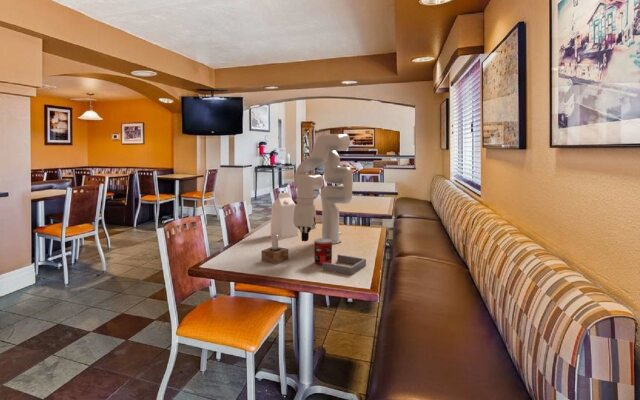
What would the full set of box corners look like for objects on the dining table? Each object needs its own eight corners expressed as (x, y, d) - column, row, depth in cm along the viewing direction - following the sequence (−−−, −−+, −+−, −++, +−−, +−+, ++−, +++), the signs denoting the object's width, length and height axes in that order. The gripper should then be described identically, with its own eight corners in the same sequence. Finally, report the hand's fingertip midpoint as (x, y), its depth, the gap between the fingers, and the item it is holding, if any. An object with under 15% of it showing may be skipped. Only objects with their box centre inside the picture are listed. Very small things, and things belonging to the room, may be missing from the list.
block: (273, 256, 180) (273, 246, 179) (288, 259, 176) (288, 248, 175) (261, 261, 172) (261, 250, 172) (277, 264, 168) (276, 253, 167)
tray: (338, 260, 173) (338, 254, 173) (365, 265, 166) (366, 259, 166) (322, 269, 161) (322, 262, 160) (351, 275, 154) (351, 268, 153)
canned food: (313, 261, 172) (313, 238, 171) (330, 260, 173) (330, 238, 172) (314, 266, 165) (315, 242, 163) (332, 266, 166) (332, 242, 164)
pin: (274, 258, 176) (274, 234, 174) (279, 259, 175) (279, 234, 173) (270, 260, 174) (270, 235, 172) (275, 261, 172) (275, 236, 170)
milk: (286, 232, 232) (285, 191, 229) (297, 235, 224) (297, 193, 220) (270, 235, 224) (269, 192, 220) (281, 238, 216) (281, 194, 212)
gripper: (287, 201, 170) (287, 240, 172) (314, 203, 163) (314, 244, 165) (296, 199, 177) (296, 237, 179) (323, 202, 169) (322, 241, 171)
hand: (305, 240), depth 172 cm, fingers closed
